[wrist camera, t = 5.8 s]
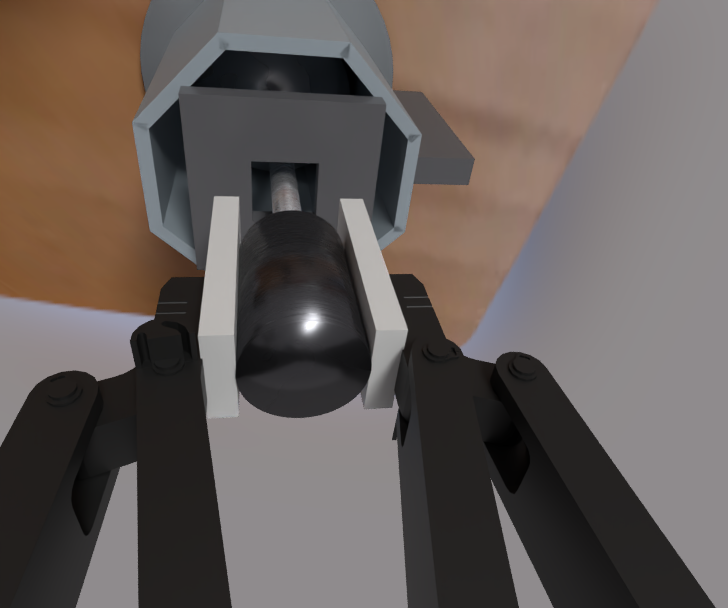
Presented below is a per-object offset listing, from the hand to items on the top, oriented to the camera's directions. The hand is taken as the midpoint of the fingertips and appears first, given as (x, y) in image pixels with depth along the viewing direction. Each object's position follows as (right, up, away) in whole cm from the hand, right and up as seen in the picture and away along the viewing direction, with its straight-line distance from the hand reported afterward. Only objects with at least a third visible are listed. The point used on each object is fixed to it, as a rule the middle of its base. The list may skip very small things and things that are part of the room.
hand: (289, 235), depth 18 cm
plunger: (-2, +9, +11) cm, 14 cm away
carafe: (-1, +10, +13) cm, 17 cm away
